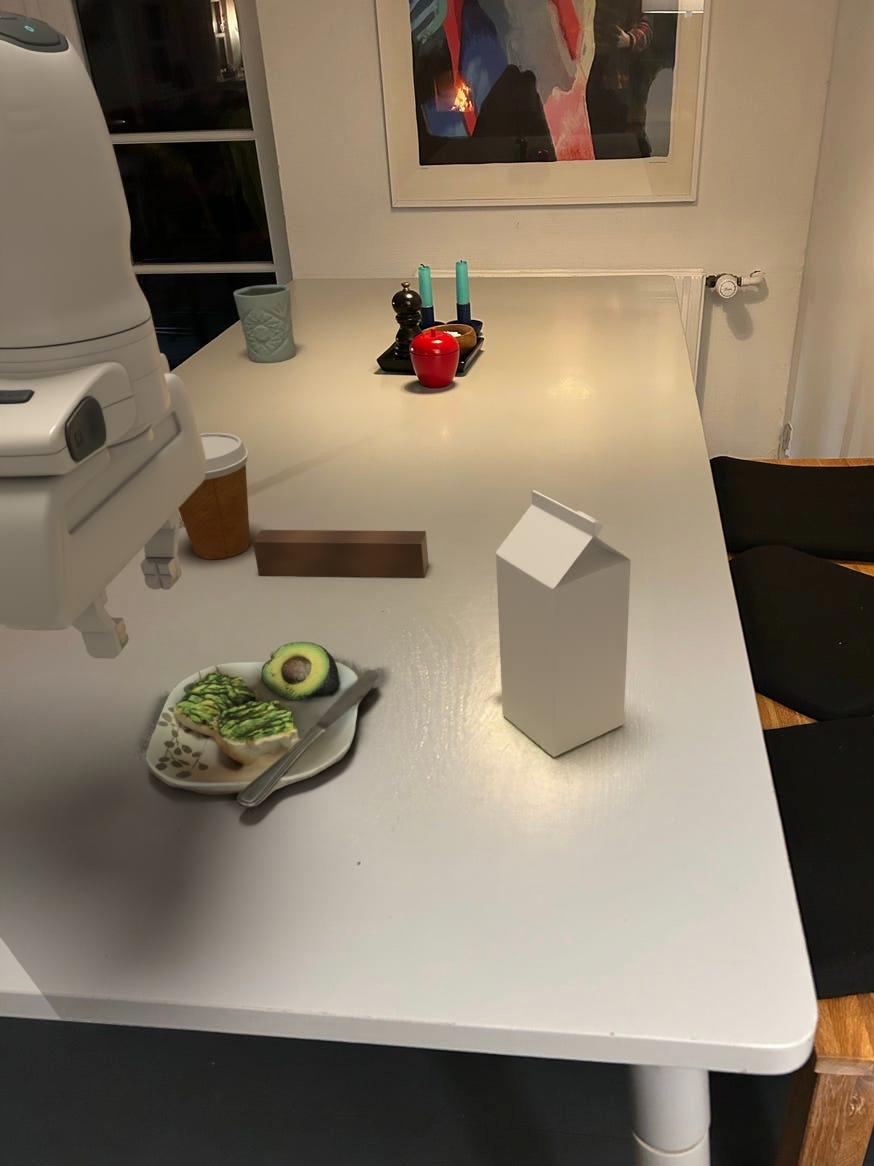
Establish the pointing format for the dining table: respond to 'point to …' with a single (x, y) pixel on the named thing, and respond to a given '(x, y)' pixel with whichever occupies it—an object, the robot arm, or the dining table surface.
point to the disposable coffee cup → (219, 500)
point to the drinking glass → (266, 322)
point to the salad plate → (258, 723)
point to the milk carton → (562, 627)
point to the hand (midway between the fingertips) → (139, 615)
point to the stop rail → (341, 553)
